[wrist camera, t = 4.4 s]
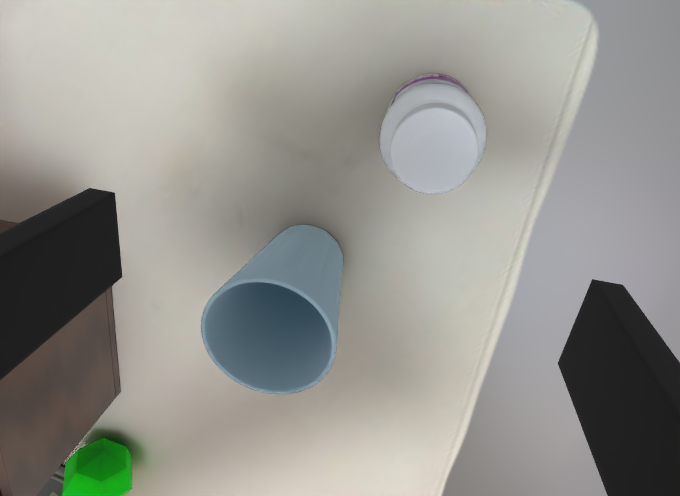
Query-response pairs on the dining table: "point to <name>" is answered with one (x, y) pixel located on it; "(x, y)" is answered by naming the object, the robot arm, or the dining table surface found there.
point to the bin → (56, 397)
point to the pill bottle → (432, 134)
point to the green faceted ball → (98, 470)
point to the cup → (279, 314)
